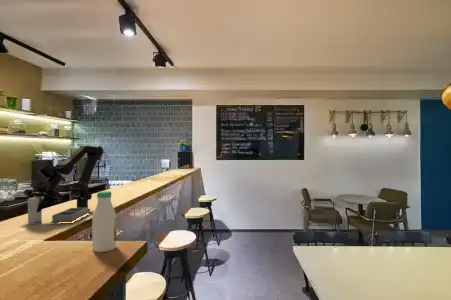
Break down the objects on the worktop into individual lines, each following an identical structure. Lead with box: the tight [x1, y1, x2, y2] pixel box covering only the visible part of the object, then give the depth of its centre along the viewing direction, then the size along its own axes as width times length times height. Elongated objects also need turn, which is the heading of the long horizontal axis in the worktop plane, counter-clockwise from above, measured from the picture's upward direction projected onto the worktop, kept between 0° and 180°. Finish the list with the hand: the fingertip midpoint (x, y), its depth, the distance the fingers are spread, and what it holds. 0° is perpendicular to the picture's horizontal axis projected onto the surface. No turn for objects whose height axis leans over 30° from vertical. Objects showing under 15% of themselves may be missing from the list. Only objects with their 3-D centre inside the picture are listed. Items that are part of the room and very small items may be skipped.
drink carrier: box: [50, 207, 89, 224], centre depth 142 cm, size 18×10×4 cm, turn 1°
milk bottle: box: [91, 190, 117, 253], centre depth 100 cm, size 8×8×20 cm
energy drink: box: [27, 197, 43, 225], centre depth 135 cm, size 5×5×12 cm
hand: (32, 209), depth 134 cm, fingers open, 6 cm apart
